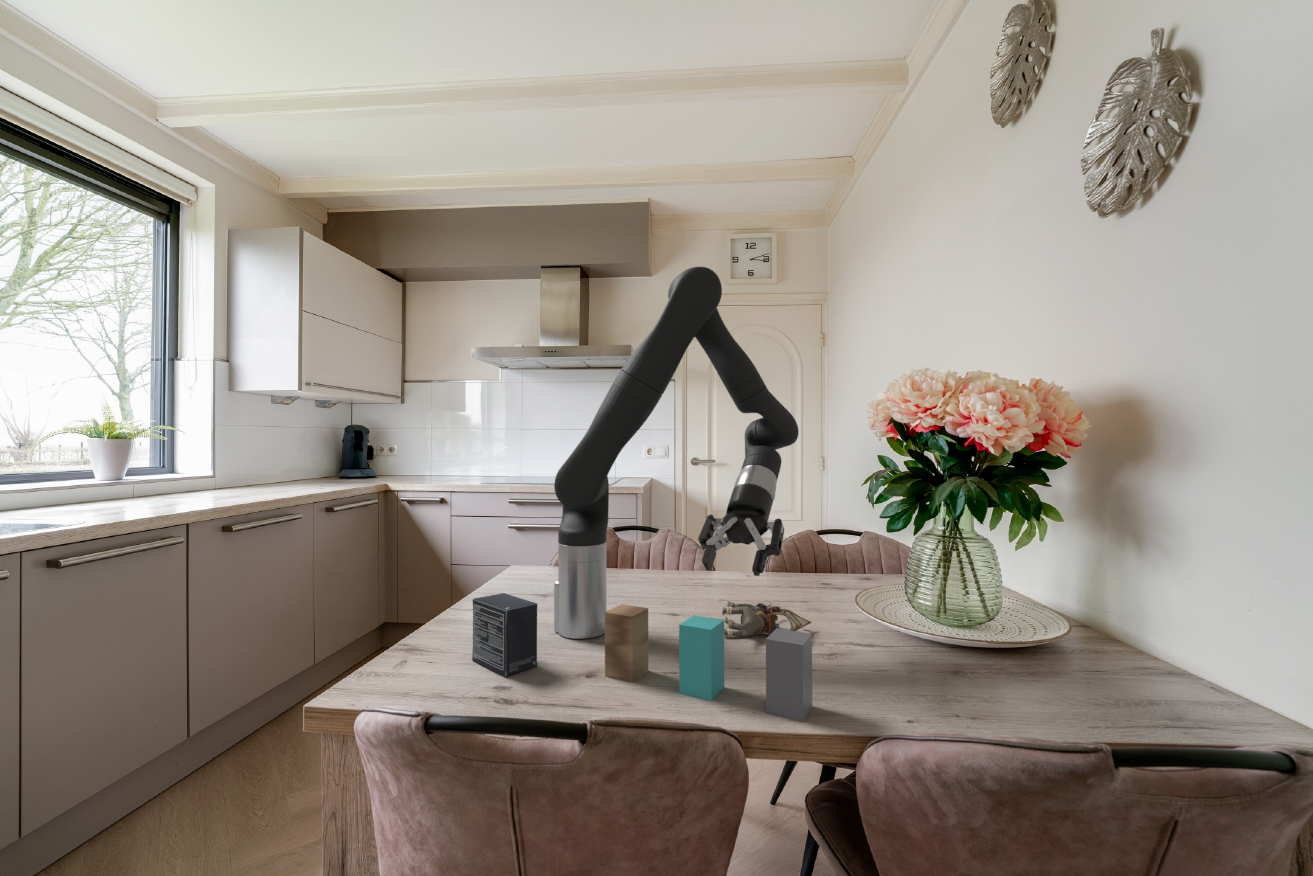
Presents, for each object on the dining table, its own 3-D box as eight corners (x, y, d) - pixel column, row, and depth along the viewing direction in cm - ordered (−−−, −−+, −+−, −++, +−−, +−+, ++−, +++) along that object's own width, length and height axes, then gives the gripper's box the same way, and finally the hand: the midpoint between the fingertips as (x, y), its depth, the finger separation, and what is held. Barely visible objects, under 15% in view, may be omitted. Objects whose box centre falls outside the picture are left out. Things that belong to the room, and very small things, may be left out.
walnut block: (605, 676, 89) (604, 612, 89) (621, 665, 94) (621, 604, 94) (632, 682, 87) (632, 616, 87) (648, 670, 91) (648, 608, 91)
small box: (540, 666, 93) (540, 602, 94) (505, 678, 89) (505, 610, 89) (504, 650, 101) (504, 590, 101) (470, 661, 96) (470, 598, 96)
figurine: (727, 590, 121) (810, 595, 118) (727, 619, 121) (809, 625, 117) (718, 612, 102) (816, 619, 98) (717, 646, 101) (815, 655, 98)
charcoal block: (766, 713, 77) (765, 638, 77) (776, 698, 81) (776, 628, 81) (803, 721, 75) (802, 645, 75) (812, 706, 79) (811, 633, 79)
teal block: (679, 693, 83) (679, 624, 83) (693, 680, 88) (693, 615, 88) (711, 700, 81) (711, 629, 81) (724, 687, 85) (724, 620, 85)
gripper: (711, 480, 106) (684, 553, 96) (787, 483, 99) (767, 561, 89) (722, 506, 110) (698, 578, 100) (795, 510, 104) (777, 588, 93)
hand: (730, 570), depth 95 cm, fingers open, 8 cm apart
